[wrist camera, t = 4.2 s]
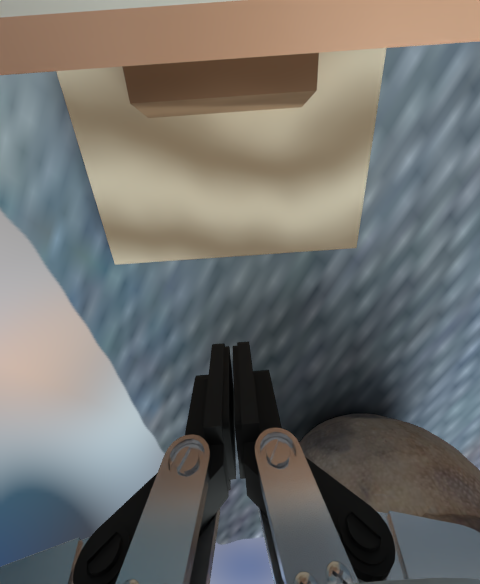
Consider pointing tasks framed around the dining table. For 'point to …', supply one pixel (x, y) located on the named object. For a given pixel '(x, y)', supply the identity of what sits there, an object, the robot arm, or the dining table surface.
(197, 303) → the dining table surface
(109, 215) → the tile stand
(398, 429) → the ceramic bowl
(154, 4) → the tile
